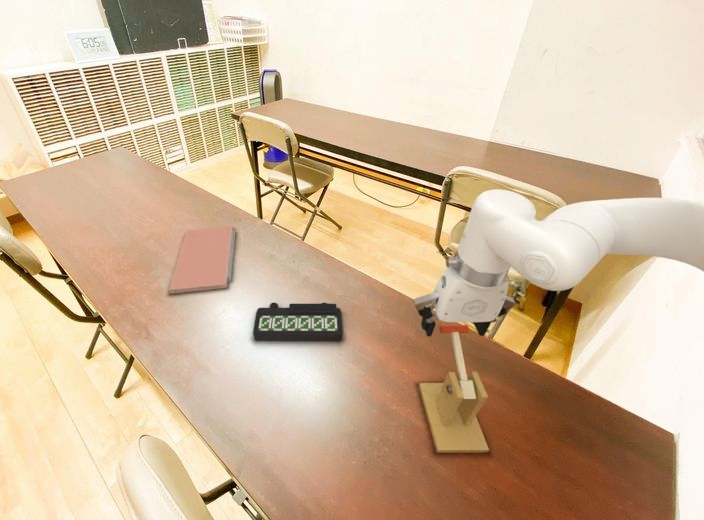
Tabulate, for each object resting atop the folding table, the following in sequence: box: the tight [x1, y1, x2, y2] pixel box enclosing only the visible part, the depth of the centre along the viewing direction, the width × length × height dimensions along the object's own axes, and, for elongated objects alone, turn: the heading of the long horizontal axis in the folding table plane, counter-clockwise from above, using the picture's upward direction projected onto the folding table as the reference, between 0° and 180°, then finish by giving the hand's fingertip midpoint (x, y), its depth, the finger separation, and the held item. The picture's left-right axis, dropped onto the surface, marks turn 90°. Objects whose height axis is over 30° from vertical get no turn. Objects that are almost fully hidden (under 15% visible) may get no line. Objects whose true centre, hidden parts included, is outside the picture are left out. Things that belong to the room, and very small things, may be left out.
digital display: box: [252, 302, 343, 342], centre depth 80 cm, size 21×3×10 cm
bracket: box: [418, 371, 490, 454], centre depth 59 cm, size 12×9×13 cm
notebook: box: [168, 225, 236, 295], centre depth 101 cm, size 27×17×2 cm, turn 6°
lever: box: [438, 324, 476, 399], centre depth 58 cm, size 12×5×2 cm, turn 0°
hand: (452, 329), depth 61 cm, fingers open, 9 cm apart
